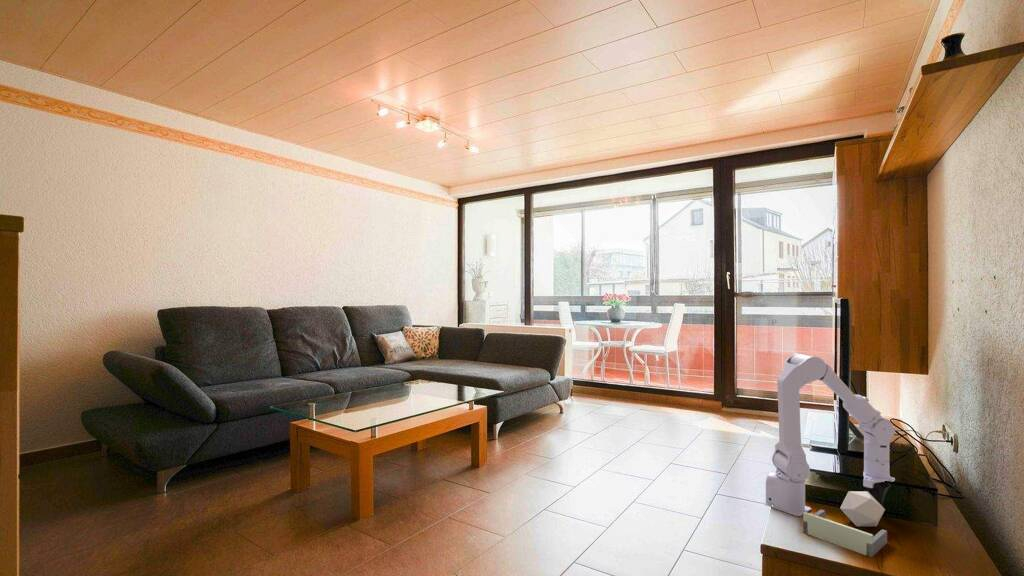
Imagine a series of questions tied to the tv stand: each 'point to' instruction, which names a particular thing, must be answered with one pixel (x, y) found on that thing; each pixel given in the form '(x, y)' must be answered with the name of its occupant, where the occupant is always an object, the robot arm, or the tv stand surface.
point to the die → (862, 508)
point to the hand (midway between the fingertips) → (876, 507)
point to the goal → (843, 534)
